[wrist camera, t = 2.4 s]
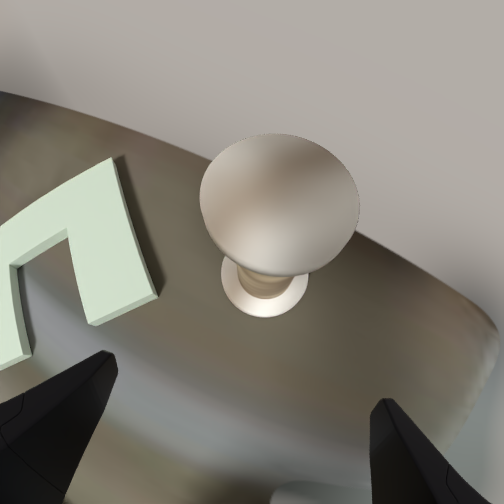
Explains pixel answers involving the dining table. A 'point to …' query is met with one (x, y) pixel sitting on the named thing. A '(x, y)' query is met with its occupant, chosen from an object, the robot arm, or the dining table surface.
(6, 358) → the notched board
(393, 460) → the robot arm
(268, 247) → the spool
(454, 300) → the dining table surface
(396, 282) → the dining table surface
